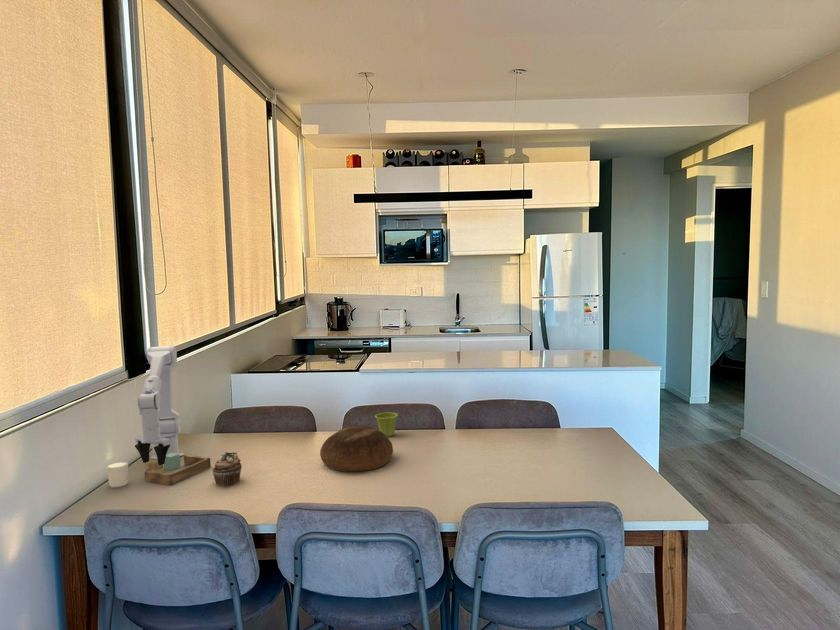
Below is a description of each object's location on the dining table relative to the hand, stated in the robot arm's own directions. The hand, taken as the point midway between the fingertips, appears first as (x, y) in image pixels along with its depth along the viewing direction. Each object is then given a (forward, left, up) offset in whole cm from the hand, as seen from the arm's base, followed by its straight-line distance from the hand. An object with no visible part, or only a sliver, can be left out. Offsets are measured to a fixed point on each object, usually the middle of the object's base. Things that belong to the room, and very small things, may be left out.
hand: (153, 463), depth 215 cm
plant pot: (+59, +69, -5) cm, 91 cm away
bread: (+63, +36, -5) cm, 73 cm away
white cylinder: (-5, -11, -5) cm, 13 cm away
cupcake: (+31, +3, -5) cm, 31 cm away
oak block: (0, 0, -5) cm, 5 cm away
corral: (+8, +4, -4) cm, 10 cm away
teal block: (0, +8, -5) cm, 9 cm away
